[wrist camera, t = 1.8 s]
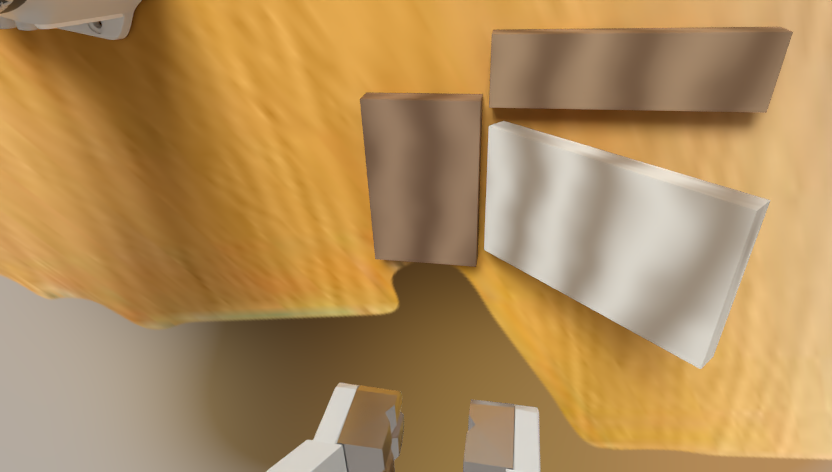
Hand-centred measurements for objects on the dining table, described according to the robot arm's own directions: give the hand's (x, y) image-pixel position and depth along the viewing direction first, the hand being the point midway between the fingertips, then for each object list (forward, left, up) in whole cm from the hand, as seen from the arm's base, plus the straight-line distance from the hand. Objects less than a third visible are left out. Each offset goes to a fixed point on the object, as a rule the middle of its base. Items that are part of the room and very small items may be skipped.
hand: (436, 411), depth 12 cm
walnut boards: (+4, -8, -34) cm, 35 cm away
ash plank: (+8, -10, -27) cm, 30 cm away
